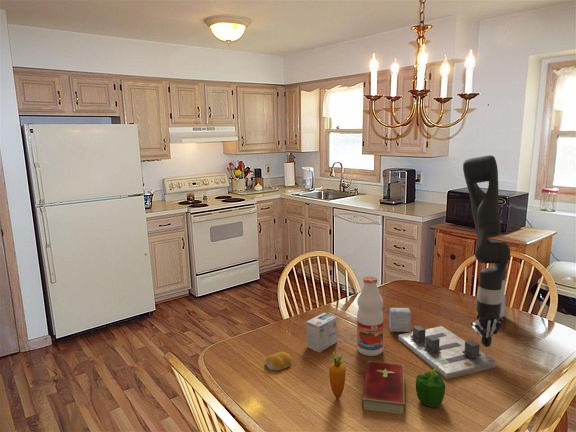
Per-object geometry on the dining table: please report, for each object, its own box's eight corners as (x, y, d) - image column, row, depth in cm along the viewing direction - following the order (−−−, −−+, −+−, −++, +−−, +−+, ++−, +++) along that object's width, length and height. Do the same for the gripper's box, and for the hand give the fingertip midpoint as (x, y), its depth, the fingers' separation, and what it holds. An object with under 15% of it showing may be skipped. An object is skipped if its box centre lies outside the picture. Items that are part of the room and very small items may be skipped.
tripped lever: (472, 350, 144) (473, 339, 144) (481, 355, 141) (481, 344, 140) (462, 352, 143) (462, 341, 142) (470, 358, 139) (471, 347, 138)
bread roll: (295, 365, 144) (295, 354, 143) (274, 374, 139) (273, 363, 138) (283, 355, 150) (282, 345, 150) (262, 363, 146) (261, 353, 145)
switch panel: (441, 330, 164) (442, 325, 164) (496, 366, 138) (496, 361, 138) (398, 339, 159) (398, 334, 158) (446, 379, 132) (446, 373, 132)
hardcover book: (361, 410, 119) (361, 398, 119) (367, 371, 139) (367, 359, 138) (404, 416, 116) (404, 403, 115) (403, 375, 136) (403, 363, 135)
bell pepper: (429, 414, 116) (430, 383, 114) (409, 398, 123) (410, 368, 121) (451, 406, 119) (453, 375, 117) (431, 390, 127) (432, 361, 125)
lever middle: (434, 344, 149) (434, 334, 148) (441, 350, 145) (441, 339, 144) (423, 347, 148) (424, 336, 147) (430, 352, 144) (431, 341, 143)
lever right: (420, 335, 156) (421, 324, 156) (427, 339, 153) (427, 329, 152) (410, 337, 155) (411, 326, 154) (417, 341, 151) (417, 331, 151)
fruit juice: (379, 343, 156) (379, 273, 151) (385, 356, 147) (386, 282, 142) (354, 344, 156) (354, 274, 151) (359, 357, 147) (359, 283, 141)
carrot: (328, 394, 127) (327, 350, 124) (344, 393, 127) (343, 348, 124) (331, 404, 122) (330, 358, 119) (347, 403, 122) (347, 357, 119)
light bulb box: (324, 337, 163) (324, 311, 161) (337, 342, 158) (337, 316, 156) (306, 347, 155) (305, 320, 153) (319, 353, 151) (318, 326, 149)
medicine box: (408, 327, 168) (408, 307, 167) (410, 332, 164) (411, 312, 162) (388, 327, 169) (389, 307, 167) (390, 332, 165) (390, 312, 163)
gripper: (496, 292, 145) (493, 337, 149) (465, 298, 141) (463, 344, 145) (513, 300, 138) (509, 347, 142) (481, 306, 134) (478, 354, 138)
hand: (486, 345), depth 143 cm, fingers closed
